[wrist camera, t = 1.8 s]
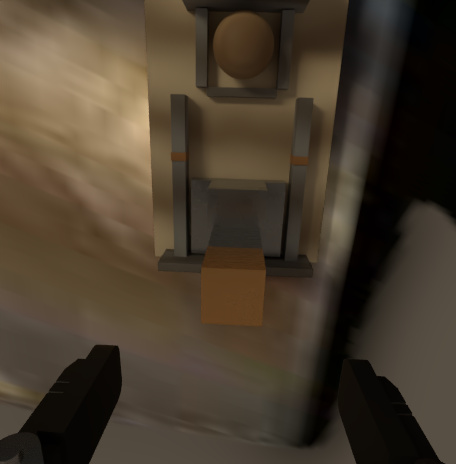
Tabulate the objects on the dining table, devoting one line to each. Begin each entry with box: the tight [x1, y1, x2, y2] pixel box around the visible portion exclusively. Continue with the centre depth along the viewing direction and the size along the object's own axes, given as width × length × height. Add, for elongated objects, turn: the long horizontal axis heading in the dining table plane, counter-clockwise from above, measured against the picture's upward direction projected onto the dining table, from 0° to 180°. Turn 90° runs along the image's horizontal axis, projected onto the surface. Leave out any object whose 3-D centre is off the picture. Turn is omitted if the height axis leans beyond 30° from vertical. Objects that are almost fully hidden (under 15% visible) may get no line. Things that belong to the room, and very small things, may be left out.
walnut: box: [213, 10, 274, 80], centre depth 22 cm, size 4×4×4 cm
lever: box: [191, 177, 286, 326], centre depth 22 cm, size 6×7×11 cm
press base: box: [144, 0, 349, 278], centre depth 24 cm, size 22×14×7 cm, turn 178°
